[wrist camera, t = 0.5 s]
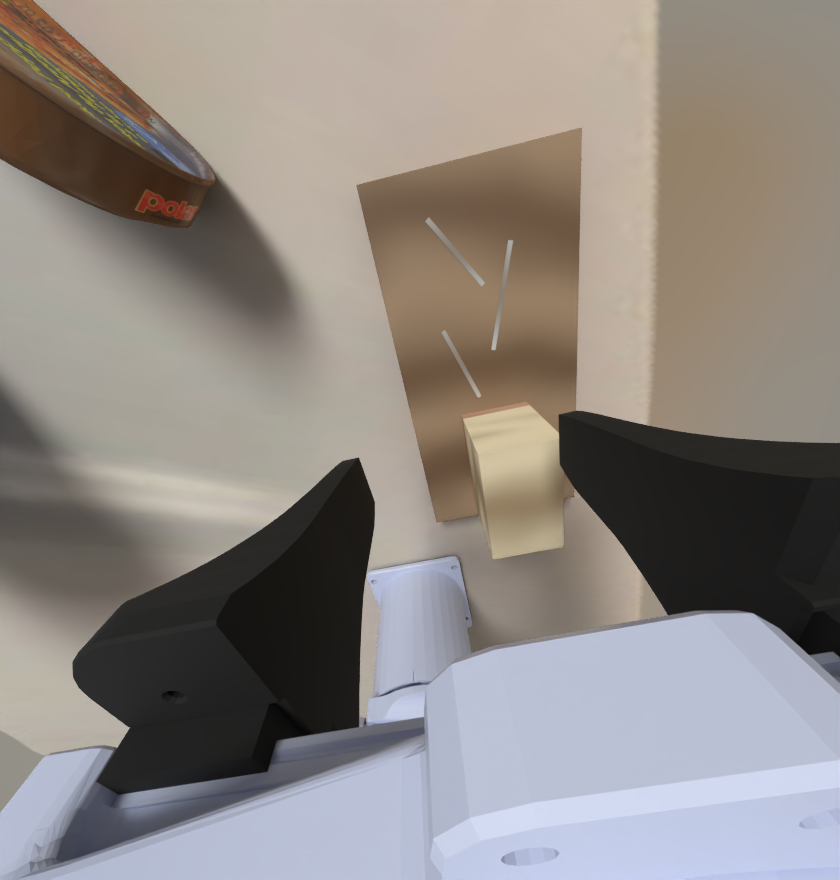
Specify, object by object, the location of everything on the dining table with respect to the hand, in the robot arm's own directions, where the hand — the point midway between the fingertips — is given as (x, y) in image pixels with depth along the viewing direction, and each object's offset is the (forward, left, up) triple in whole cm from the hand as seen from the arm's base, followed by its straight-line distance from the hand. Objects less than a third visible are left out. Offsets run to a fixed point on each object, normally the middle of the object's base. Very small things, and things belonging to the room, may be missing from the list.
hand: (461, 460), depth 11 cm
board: (0, -3, -10) cm, 10 cm away
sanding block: (-5, -3, -8) cm, 10 cm away
